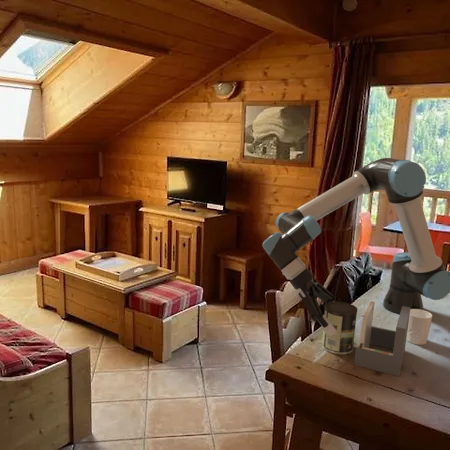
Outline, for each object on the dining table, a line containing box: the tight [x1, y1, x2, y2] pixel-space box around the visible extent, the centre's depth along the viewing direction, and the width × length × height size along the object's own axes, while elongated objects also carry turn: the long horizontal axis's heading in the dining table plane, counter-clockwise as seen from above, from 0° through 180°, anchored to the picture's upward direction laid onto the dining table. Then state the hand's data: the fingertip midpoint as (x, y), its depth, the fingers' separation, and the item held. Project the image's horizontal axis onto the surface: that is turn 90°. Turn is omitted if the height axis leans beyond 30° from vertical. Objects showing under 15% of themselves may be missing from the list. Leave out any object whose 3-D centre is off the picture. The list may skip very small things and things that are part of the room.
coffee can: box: [321, 301, 358, 355], centre depth 149 cm, size 10×10×14 cm
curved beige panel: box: [358, 300, 375, 348], centre depth 144 cm, size 1×18×14 cm, turn 154°
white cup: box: [406, 309, 433, 346], centre depth 156 cm, size 8×8×10 cm
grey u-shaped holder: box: [354, 306, 410, 377], centre depth 143 cm, size 13×18×15 cm
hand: (338, 326), depth 148 cm, fingers open, 13 cm apart
